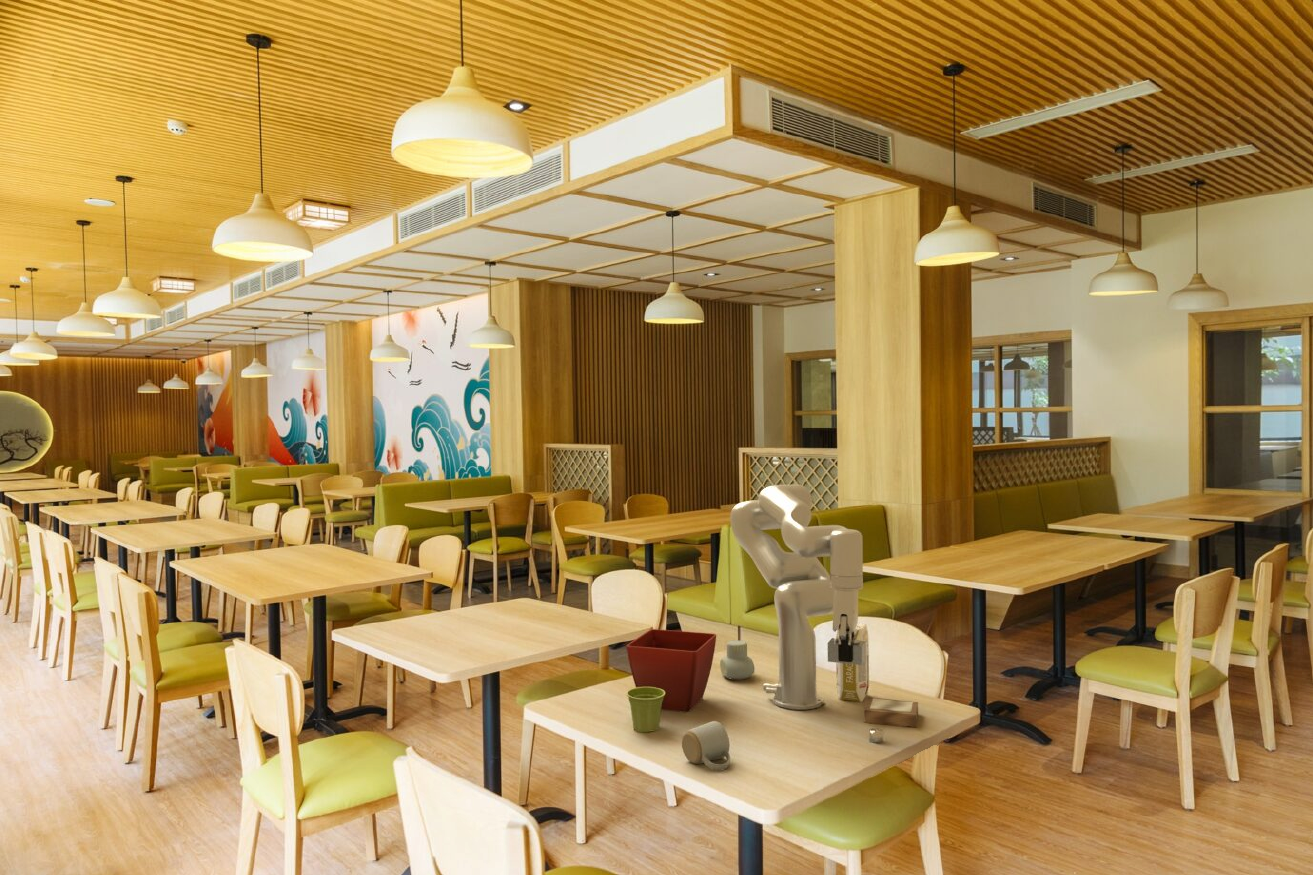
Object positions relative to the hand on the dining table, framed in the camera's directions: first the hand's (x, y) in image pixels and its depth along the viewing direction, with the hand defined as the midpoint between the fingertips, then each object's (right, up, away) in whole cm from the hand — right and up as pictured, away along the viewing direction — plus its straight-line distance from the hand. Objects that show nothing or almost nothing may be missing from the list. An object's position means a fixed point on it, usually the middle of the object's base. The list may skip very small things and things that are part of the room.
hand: (847, 657), depth 201 cm
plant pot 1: (-48, -18, +2) cm, 51 cm away
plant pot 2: (-41, -18, +21) cm, 49 cm away
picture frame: (+13, -17, +7) cm, 22 cm away
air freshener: (-22, -17, +44) cm, 52 cm away
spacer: (+5, -17, -8) cm, 19 cm away
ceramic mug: (-34, -18, -19) cm, 43 cm away
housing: (0, -1, 0) cm, 1 cm away
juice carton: (+7, -17, +24) cm, 30 cm away
